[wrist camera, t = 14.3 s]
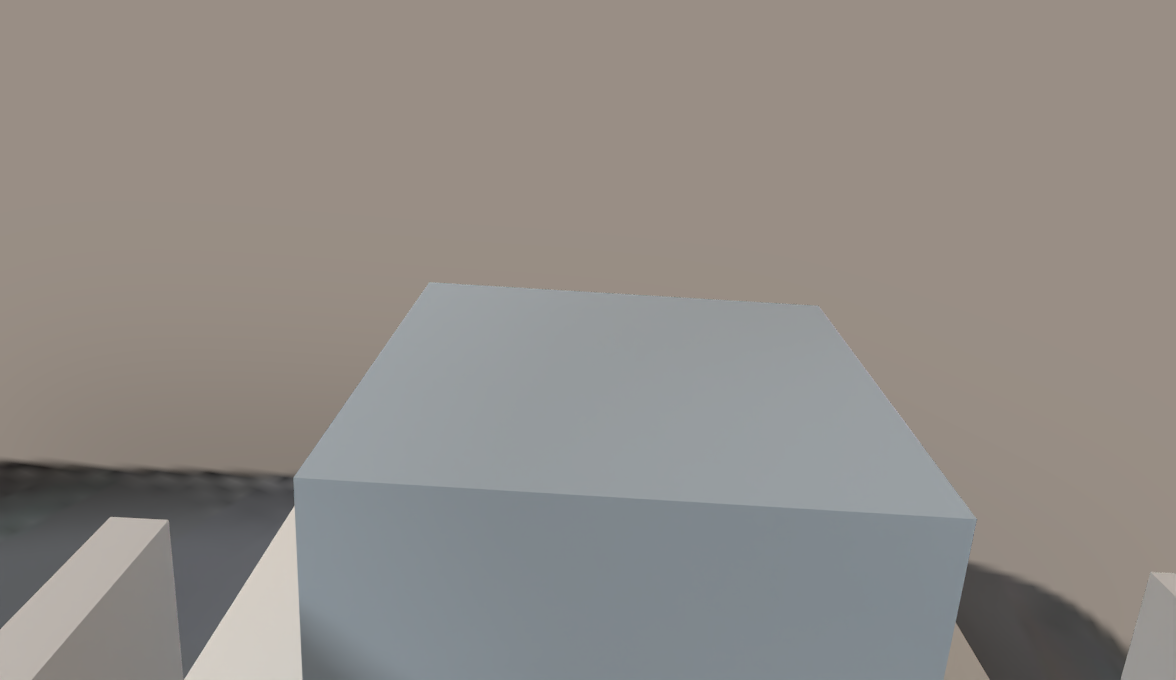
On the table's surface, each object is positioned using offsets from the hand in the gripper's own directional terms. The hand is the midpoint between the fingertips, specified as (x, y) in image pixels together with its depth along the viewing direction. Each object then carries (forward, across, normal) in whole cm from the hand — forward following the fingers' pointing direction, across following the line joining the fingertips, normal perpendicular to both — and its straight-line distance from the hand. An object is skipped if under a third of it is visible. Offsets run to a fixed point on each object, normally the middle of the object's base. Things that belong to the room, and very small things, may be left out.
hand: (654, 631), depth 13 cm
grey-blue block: (+5, 0, -9) cm, 10 cm away
